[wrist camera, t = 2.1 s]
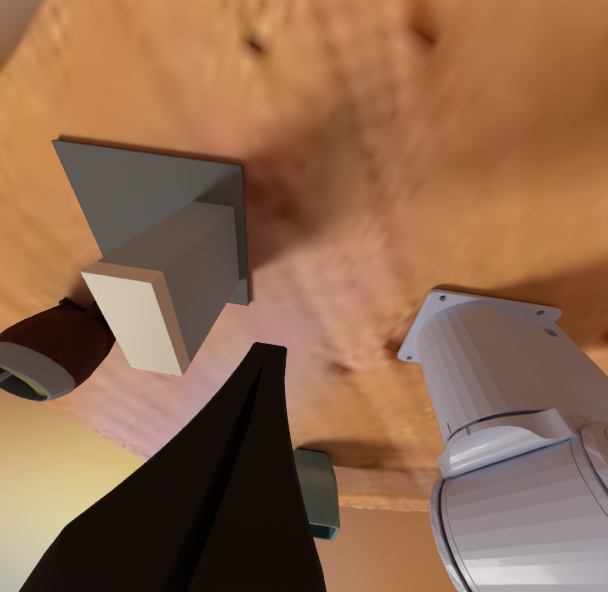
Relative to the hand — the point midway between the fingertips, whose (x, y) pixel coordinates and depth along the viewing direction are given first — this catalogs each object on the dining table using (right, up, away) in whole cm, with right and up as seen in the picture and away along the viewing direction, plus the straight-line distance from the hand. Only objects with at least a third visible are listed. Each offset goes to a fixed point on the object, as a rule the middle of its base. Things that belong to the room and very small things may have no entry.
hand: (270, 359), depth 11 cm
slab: (-5, +7, +8) cm, 11 cm away
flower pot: (+3, -23, +30) cm, 38 cm away
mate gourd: (-21, +1, +15) cm, 26 cm away
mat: (-9, +7, +8) cm, 14 cm away
